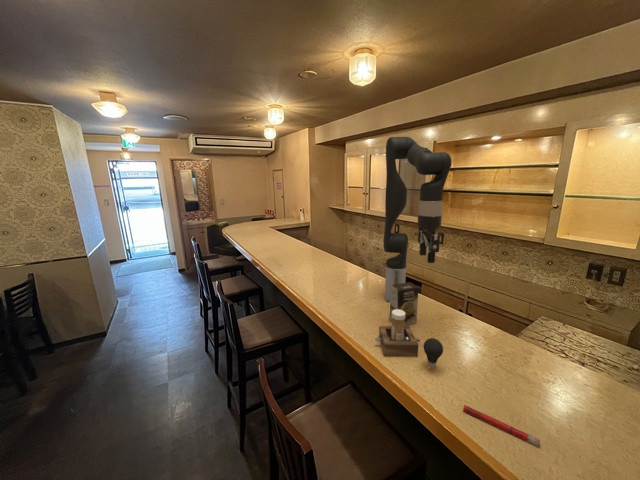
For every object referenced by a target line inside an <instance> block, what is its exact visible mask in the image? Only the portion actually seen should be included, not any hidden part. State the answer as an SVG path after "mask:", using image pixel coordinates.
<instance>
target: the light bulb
mask: <svg viewBox="0 0 640 480" xmlns="http://www.w3.org/2000/svg"><path fill="white" fill-rule="evenodd" d="M423 350H424V351H423V352H424V353H425V355H426V360H427V367H429V368H430V369H435V368H436V367H437V362H438V360H439V358H440V357H441V356H442V355H443V353H444V346H443V344H442V343H441V341H440V340H439V339H437V338H434V337H431V338H427V339H426V340H424V342H423Z"/></svg>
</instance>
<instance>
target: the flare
mask: <svg viewBox="0 0 640 480" xmlns="http://www.w3.org/2000/svg"><path fill="white" fill-rule="evenodd" d="M462 410H463V413H466V414H468V415H470V416H472V417H474V418H477V420H480V421H482V422H485V423H487V424H488V425H491V426H493V427H495V428H497V429H499V430H502V431H504V432H505V433H508V434H510V435H513V436H514V437H517V438H518V439H520V440H523V441H525V442H527V443H529V444H531V445H532V446H535V447H537V448H540V445H541V444H540V443H541V439H540V438H538V437H535V436H533V435H532V434H529V433H528V432H527V433H526V432H525V431H522V430H520V429H518V428H516V427H514V426H512V425H509V424H507V423H505V422H502V421H500V420H498V419H496V418H494V417H492V416H489V415H488V414H485V413H483V412H481V411H478V410H476V409H474V408H473V407H470V406H469V405H466V404H464V405H463V409H462Z"/></svg>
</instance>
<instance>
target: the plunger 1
mask: <svg viewBox="0 0 640 480" xmlns="http://www.w3.org/2000/svg"><path fill="white" fill-rule="evenodd" d="M388 339H389V341H391V339H390V337H388ZM374 341H375V342H380V343H381V342H383V338H379V337H375V339H374Z"/></svg>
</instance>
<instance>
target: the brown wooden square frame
mask: <svg viewBox="0 0 640 480" xmlns="http://www.w3.org/2000/svg"><path fill="white" fill-rule="evenodd" d="M391 326H392V325H379V328H378V330H379V332H378V338H383V342H380V345H381V348H382V351H383V352H382V353H383V355H384V357H414V358H416V357H418V355H419V342H417V341H416V339H415V338H416V337H415V335H414V332H413V331H412V328H411V327H410V325H406V326H404V338H405V337H406V336H408V337H409V339H410V340H409V341H389V339H388V337H390V339H391Z"/></svg>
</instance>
